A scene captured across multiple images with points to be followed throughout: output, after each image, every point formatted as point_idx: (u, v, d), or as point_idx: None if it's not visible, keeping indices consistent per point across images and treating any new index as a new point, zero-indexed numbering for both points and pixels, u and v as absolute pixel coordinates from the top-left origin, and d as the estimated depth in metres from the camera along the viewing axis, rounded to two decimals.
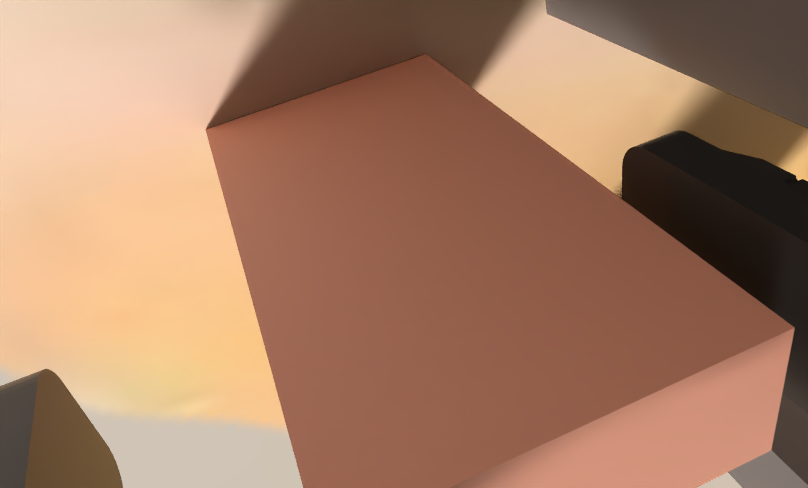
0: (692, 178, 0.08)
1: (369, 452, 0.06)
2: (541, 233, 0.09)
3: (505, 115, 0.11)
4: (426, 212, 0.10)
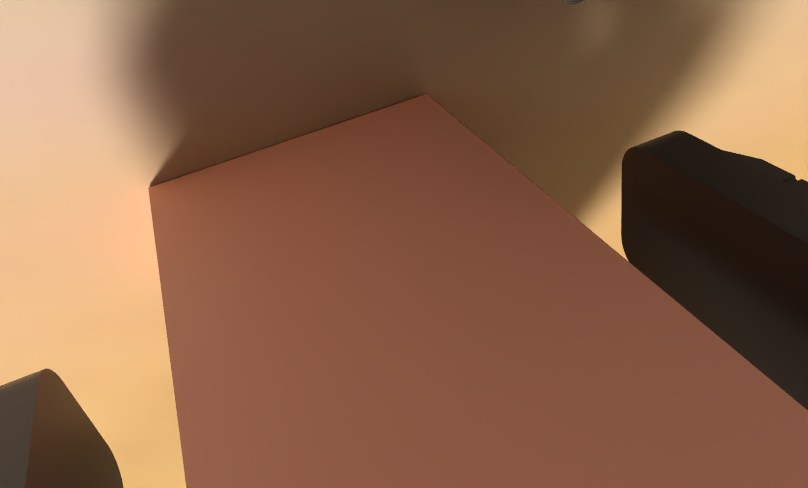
0: (692, 179, 0.08)
1: None
2: (612, 394, 0.06)
3: (536, 188, 0.09)
4: (440, 343, 0.07)
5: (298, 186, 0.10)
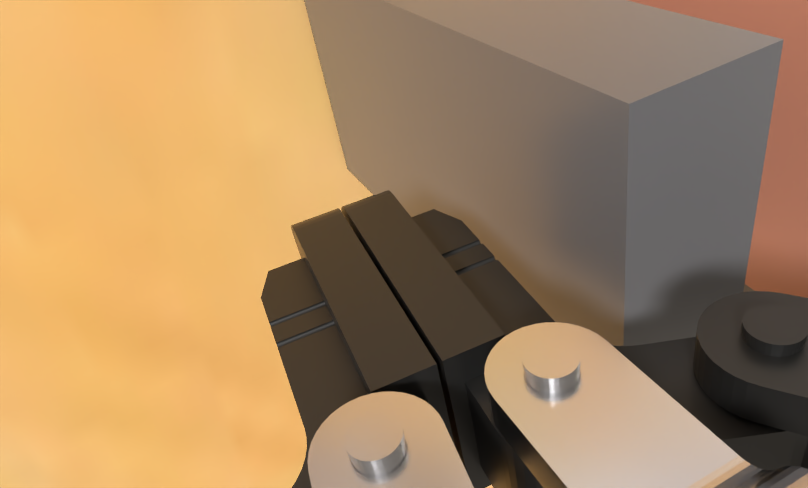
0: (369, 244, 0.08)
1: None
2: None
3: None
4: None
5: None
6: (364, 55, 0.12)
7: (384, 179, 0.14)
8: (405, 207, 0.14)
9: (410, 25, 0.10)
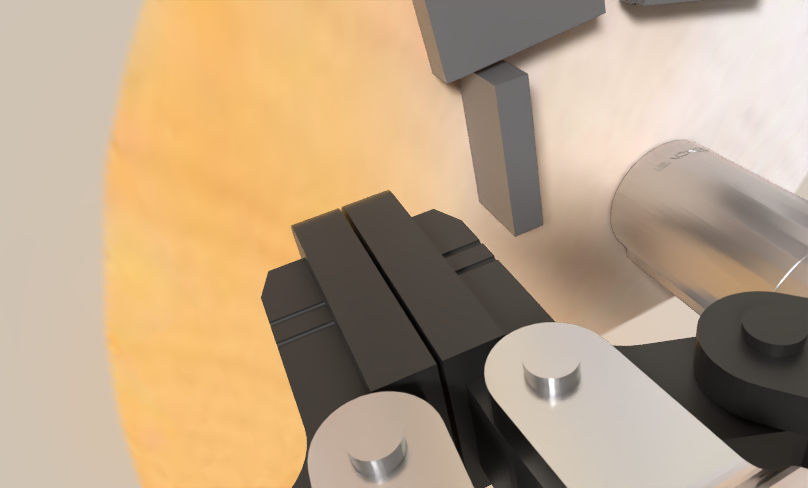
0: (369, 244, 0.08)
1: None
2: None
3: None
4: None
5: None
6: None
7: (486, 49, 0.35)
8: (502, 47, 0.36)
9: None
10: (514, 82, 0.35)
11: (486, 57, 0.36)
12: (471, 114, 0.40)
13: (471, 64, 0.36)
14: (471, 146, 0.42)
